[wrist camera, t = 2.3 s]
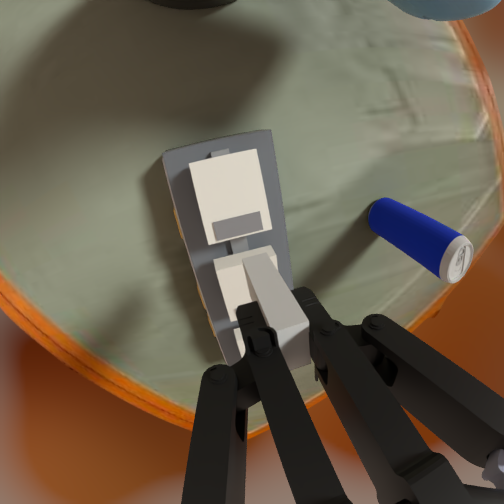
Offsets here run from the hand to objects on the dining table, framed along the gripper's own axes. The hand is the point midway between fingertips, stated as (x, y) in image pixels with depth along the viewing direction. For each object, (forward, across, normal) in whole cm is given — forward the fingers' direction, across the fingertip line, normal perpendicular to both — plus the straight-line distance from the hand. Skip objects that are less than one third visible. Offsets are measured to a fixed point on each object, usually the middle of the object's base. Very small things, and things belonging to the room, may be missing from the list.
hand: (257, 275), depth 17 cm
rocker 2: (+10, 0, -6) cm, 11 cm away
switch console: (+15, 0, -6) cm, 16 cm away
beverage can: (+15, +20, -5) cm, 26 cm away
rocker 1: (+10, 0, +3) cm, 10 cm away
